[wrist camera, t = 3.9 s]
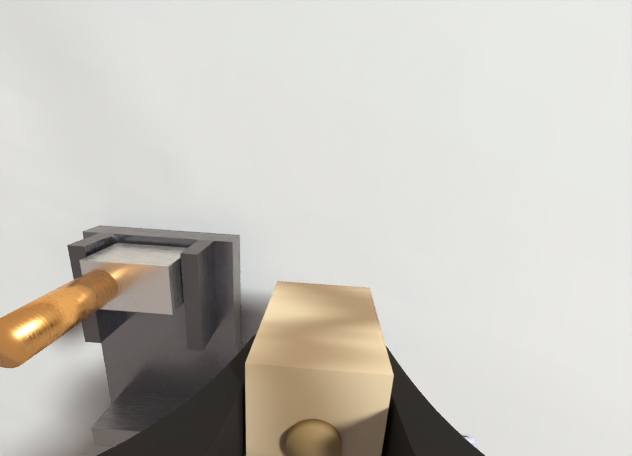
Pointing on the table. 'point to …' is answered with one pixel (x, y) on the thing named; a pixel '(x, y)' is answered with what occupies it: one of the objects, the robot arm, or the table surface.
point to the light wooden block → (317, 374)
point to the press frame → (164, 329)
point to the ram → (96, 297)
